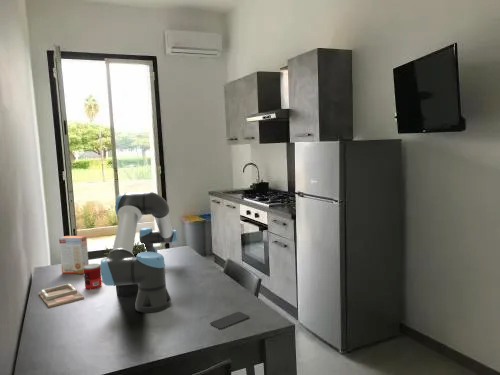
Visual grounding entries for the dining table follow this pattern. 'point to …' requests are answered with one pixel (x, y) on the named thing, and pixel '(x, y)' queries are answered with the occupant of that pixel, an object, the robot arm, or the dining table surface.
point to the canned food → (92, 276)
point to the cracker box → (73, 254)
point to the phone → (229, 320)
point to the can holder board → (60, 295)
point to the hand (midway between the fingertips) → (107, 269)
